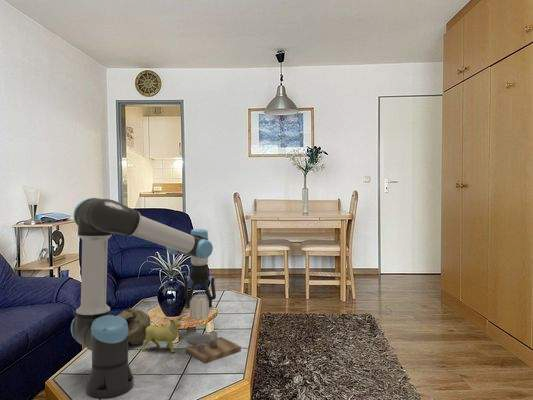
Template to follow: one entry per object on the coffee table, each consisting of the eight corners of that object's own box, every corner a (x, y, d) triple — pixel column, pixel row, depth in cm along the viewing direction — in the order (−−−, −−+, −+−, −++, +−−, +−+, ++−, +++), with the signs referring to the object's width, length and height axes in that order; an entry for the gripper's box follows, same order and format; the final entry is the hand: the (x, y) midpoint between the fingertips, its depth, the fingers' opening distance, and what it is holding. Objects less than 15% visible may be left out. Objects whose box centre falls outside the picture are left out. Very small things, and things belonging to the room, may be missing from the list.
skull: (100, 317, 171) (133, 324, 168) (128, 298, 192) (158, 304, 190) (98, 352, 173) (131, 359, 170) (126, 329, 195) (156, 335, 192)
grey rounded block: (193, 313, 190) (193, 293, 189) (209, 314, 189) (208, 294, 189) (189, 320, 181) (189, 299, 181) (205, 320, 181) (205, 299, 180)
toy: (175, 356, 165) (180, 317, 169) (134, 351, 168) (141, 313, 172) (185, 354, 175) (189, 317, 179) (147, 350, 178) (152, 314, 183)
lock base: (205, 363, 162) (205, 343, 162) (186, 352, 172) (185, 333, 172) (240, 351, 174) (240, 332, 174) (220, 341, 184) (221, 323, 184)
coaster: (195, 346, 178) (195, 344, 178) (182, 339, 186) (182, 337, 186) (216, 340, 186) (216, 338, 186) (202, 333, 194) (202, 331, 194)
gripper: (223, 262, 188) (223, 312, 189) (179, 261, 189) (179, 311, 190) (220, 265, 181) (220, 317, 182) (175, 265, 181) (175, 316, 182)
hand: (199, 314), depth 186 cm, fingers closed on grey rounded block, 7 cm apart
